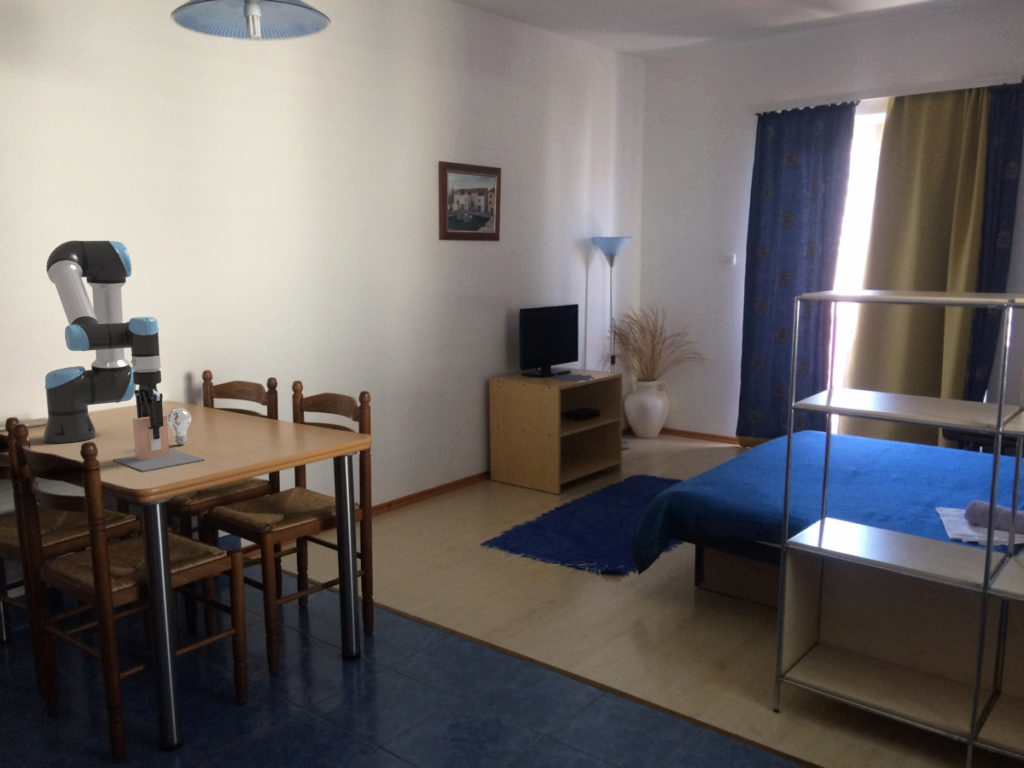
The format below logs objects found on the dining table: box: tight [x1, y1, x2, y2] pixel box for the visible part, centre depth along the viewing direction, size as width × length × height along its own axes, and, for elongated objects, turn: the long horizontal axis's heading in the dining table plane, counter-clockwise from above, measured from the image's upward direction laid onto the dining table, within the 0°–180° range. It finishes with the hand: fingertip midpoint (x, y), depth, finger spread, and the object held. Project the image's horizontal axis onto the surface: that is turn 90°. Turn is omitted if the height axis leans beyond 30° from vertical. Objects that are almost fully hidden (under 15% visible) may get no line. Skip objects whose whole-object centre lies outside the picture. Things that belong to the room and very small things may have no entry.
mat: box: [113, 448, 205, 473], centre depth 241 cm, size 20×18×1 cm
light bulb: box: [167, 407, 192, 446], centre depth 260 cm, size 7×7×12 cm
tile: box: [132, 414, 170, 460], centre depth 242 cm, size 2×9×12 cm, turn 138°
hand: (152, 448), depth 243 cm, fingers open, 4 cm apart
